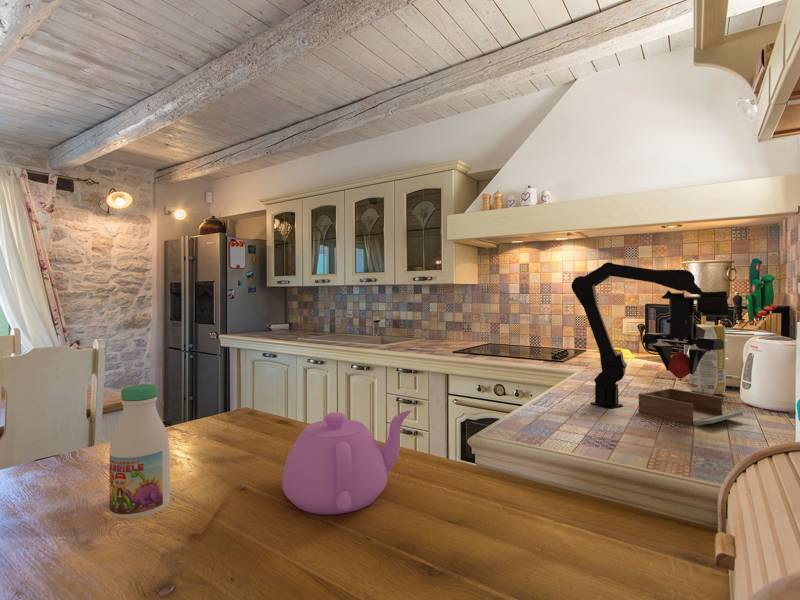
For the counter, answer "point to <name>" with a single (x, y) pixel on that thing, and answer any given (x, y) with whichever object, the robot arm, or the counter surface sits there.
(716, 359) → the juice carton
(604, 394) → the robot arm
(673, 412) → the crate
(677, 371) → the onion
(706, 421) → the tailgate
